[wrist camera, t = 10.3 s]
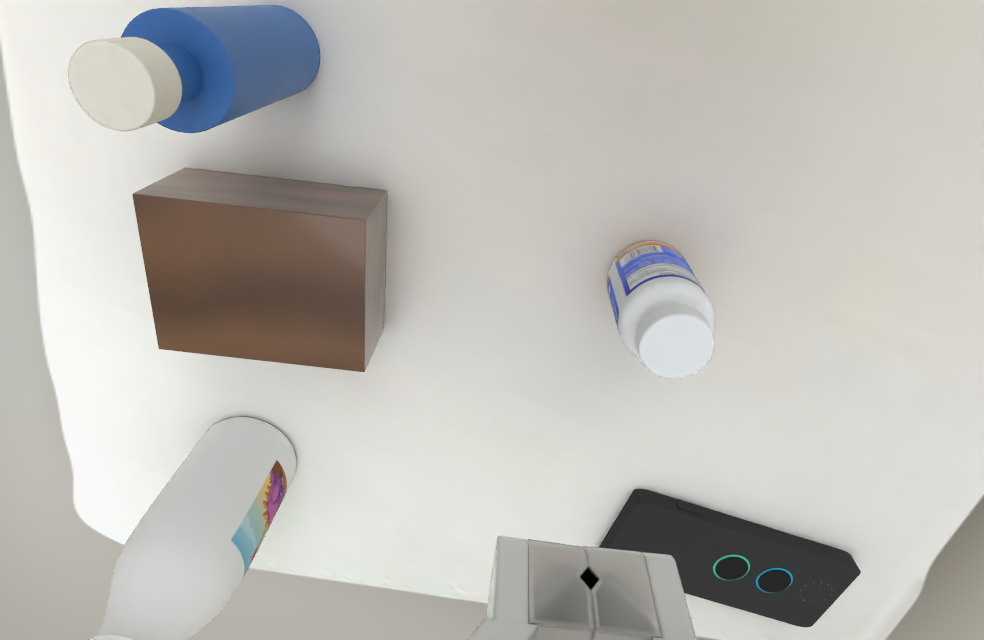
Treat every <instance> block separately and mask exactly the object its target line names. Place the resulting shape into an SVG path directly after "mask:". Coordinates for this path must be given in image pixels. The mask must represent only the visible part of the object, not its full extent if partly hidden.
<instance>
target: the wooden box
mask: <svg viewBox="0 0 984 640" xmlns="http://www.w3.org/2000/svg"><path fill="white" fill-rule="evenodd" d="M133 200H134V206H135V212H136V217H137V223H138V229H139V235H140V241H141V247H142V253H143V258H144V264H145V270H146V276H147V282H148V288H149V294H150V299H151V305H152V311H153V317H154V323H155V329H156V335H157V340H158V346H159V349H164V350H173V351H182V352H191V353H200V354H209V355H218V356H226V357H235V358H244V359H253V360H262V361H271V362H280V363H288V364H297V365H306V366H315V367H324V368H333V369H342V370H351V371H359V372H365V370H366V368H367V365H368V363H369V361H370V358H371V356H372V354H373V351H374V349H375V347H376V345H377V342H378V340H379V338H380V335H381V333H382V331H383V329H384V308H385V265H386V221H387V191H385V190H377V189H368V188H359V187H350V186H341V185H332V184H324V183H315V182H306V181H297V180H288V179H280V178H271V177H262V176H253V175H244V174H235V173H227V172H218V171H209V170H200V169H191V168H184V169H182V170H180V171H178V172H176V173H174V174H172V175H170V176H168V177H166V178H164V179H162V180H160V181H158V182H156V183H154V184H152V185H150V186H148V187H145V188H143V189H141V190H139V191H137V192H135V193H133Z"/></svg>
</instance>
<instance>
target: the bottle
mask: <svg viewBox="0 0 984 640" xmlns="http://www.w3.org/2000/svg"><path fill="white" fill-rule="evenodd" d="M319 64H320V50H319V45H318V42H317V39H316V37H315V34H314V32H313V31H312V29H311V27H310V26H309V25H308V23H307V22H306V21H305V20H304V19H303V18H302V17H301V16H299V15H298V14H297V13H295V12H294V11H292V10H290V9H288V8H285V7H282V6H276V5H262V6H224V7H185V8H158V9H152V10H148V11H145V12H143V13H141V14H139V15H138V16H136V17H135V18H134V19H133V20H132V21H131V22H130V23H129V24H128V25H127V27H126V28H125V30H124V32H123V34H122V36H121V38H112V39H101V40H93V41H89V42H87V43H85V44H83V45H81V46H80V47H79V48H78V49H77V50H76V51H75V53H74V54H73V56H72V58H71V60H70V64H69V70H68V77H69V83H70V87H71V90H72V93H73V95H74V97H75V99H76V101H77V102H78V104H79V105H80V107H81V108H82V109H83V110H84V111H85V112H86V114H87V115H88V116H90V117H91V118H92V119H93V120H95V121H96V122H97V123H99V124H101V125H103V126H105V127H107V128H110V129H113V130H118V131H131V130H135V129H138V128H141V127H144V126H147V125H150V124H153V123H156V122H157V123H158V124H160V125H162V126H164V127H166V128H169V129H171V130H175V131H178V132H184V133H196V132H202V131H206V130H208V129H211V128H213V127H215V126H218V125H220V124H223V123H225V122H228V121H230V120H233V119H235V118H237V117H240V116H242V115H245V114H247V113H250V112H252V111H254V110H257V109H259V108H262V107H264V106H267V105H269V104H272V103H274V102H276V101H279V100H281V99H284V98H286V97H289V96H291V95H293V94H296V93H298V92H301V91H302V90H304V89H306V88H307V87H308V86H309V85H310V84H311V83H312V82H313V80H314V78H315V77H316V74H317V72H318V69H319Z"/></svg>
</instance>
